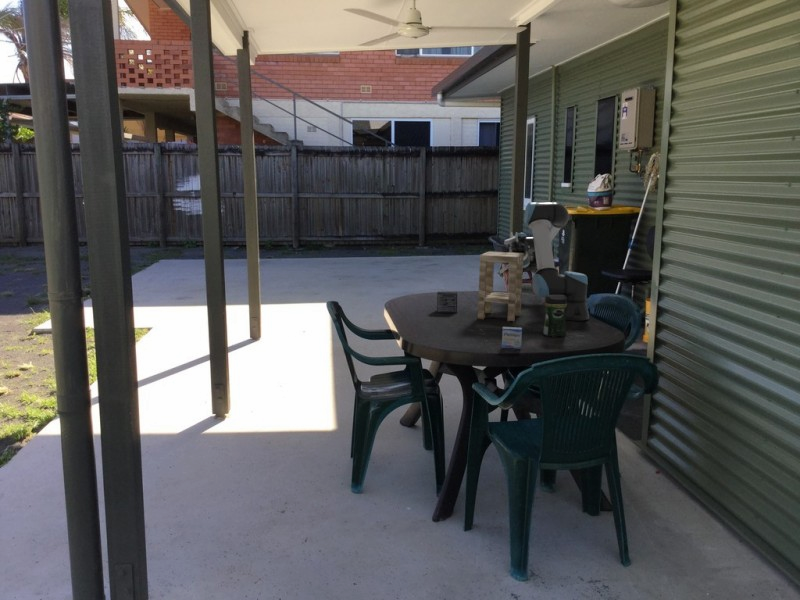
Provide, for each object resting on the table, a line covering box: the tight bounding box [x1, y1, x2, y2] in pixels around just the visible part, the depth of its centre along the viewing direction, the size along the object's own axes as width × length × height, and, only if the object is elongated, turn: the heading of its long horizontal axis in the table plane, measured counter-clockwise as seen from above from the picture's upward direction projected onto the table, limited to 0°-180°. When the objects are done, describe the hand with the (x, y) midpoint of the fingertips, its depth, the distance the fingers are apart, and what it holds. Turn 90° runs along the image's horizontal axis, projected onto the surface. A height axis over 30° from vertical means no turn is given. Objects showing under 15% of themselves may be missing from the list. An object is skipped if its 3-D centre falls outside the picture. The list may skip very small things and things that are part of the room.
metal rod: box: [503, 235, 517, 246], centre depth 350 cm, size 26×2×2 cm, turn 159°
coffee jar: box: [542, 295, 567, 338], centre depth 298 cm, size 10×8×19 cm
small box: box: [436, 291, 458, 314], centre depth 348 cm, size 11×6×10 cm, turn 84°
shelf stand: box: [477, 251, 524, 323], centre depth 335 cm, size 18×18×32 cm
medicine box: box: [501, 326, 523, 350], centre depth 276 cm, size 8×4×9 cm, turn 81°
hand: (513, 234), depth 355 cm, fingers closed on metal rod, 2 cm apart
